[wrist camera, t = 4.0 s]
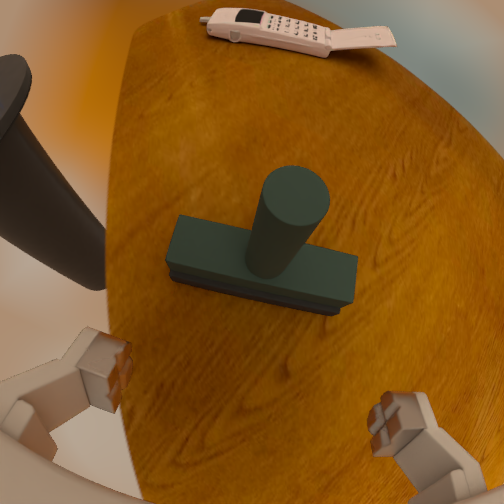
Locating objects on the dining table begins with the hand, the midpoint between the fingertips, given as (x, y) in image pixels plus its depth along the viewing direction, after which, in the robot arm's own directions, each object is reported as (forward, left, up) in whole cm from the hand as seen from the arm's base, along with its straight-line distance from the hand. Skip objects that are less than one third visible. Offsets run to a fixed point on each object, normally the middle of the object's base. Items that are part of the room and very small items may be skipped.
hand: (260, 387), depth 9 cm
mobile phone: (-2, +38, -12) cm, 40 cm away
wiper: (0, +7, -12) cm, 14 cm away
